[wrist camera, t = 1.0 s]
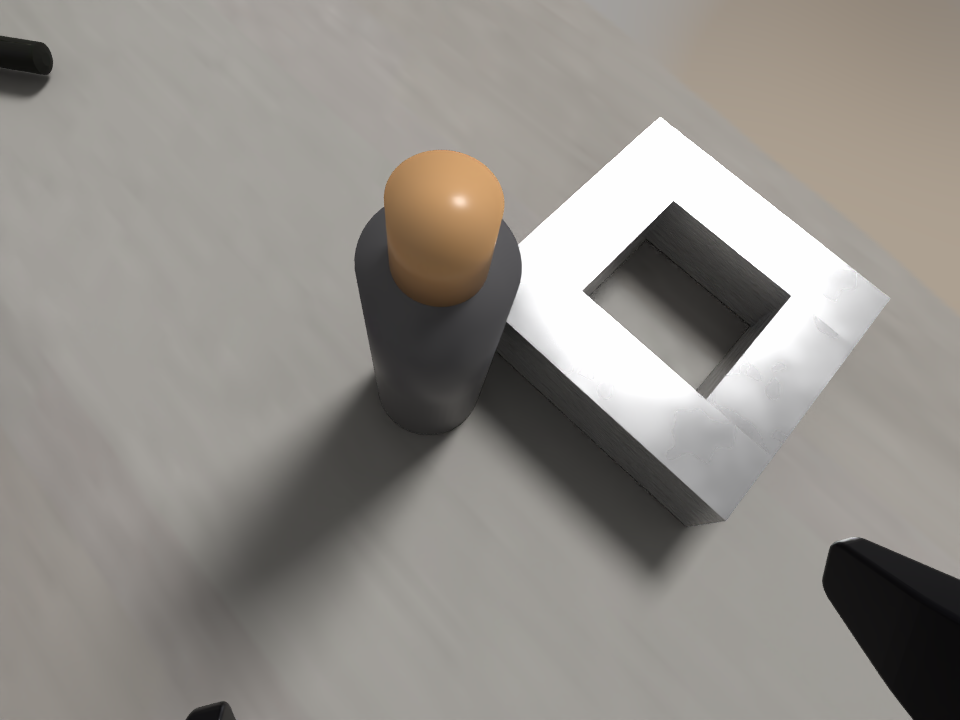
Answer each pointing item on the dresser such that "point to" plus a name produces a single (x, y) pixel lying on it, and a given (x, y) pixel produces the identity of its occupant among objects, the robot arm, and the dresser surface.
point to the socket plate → (722, 271)
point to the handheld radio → (25, 55)
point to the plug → (436, 287)
